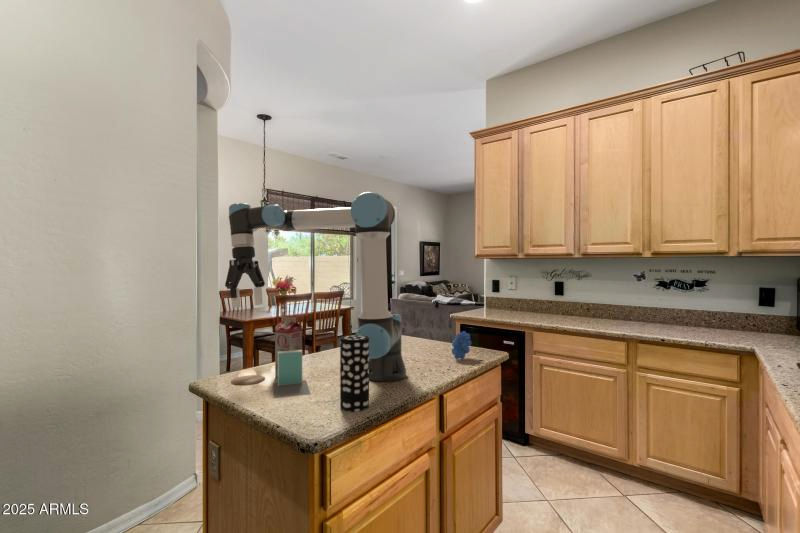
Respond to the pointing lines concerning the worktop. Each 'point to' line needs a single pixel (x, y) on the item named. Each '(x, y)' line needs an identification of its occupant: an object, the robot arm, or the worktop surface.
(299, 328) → the juice carton
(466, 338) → the grapes
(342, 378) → the spotted tube
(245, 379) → the coaster
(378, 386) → the worktop surface
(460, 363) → the worktop surface
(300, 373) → the tile
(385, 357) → the robot arm
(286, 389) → the mat
